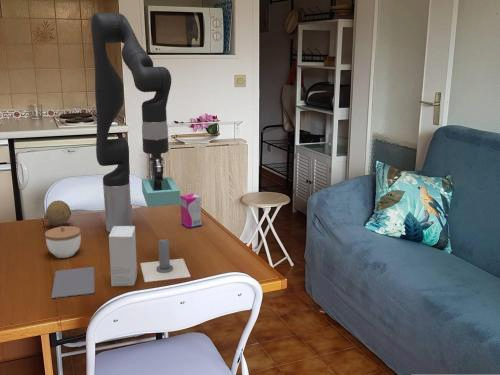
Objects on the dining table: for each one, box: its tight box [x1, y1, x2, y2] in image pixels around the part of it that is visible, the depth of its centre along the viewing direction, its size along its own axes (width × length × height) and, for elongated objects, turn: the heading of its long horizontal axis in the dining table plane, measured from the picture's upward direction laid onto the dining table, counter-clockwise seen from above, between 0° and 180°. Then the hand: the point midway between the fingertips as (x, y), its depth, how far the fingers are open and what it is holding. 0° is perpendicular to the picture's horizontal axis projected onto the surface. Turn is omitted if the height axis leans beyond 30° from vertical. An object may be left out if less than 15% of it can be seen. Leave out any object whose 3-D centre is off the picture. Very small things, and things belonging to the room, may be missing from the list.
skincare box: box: [108, 225, 138, 287], centre depth 147 cm, size 8×7×16 cm
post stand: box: [140, 238, 191, 283], centre depth 155 cm, size 14×13×10 cm
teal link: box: [141, 176, 181, 208], centre depth 153 cm, size 16×9×4 cm, turn 16°
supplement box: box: [180, 193, 202, 229], centre depth 196 cm, size 6×6×12 cm
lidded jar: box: [44, 225, 82, 259], centre depth 169 cm, size 11×11×9 cm
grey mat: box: [50, 266, 96, 300], centre depth 149 cm, size 18×12×1 cm, turn 16°
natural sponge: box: [44, 199, 72, 228], centre depth 195 cm, size 9×9×10 cm
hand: (157, 192), depth 161 cm, fingers closed on teal link, 2 cm apart
